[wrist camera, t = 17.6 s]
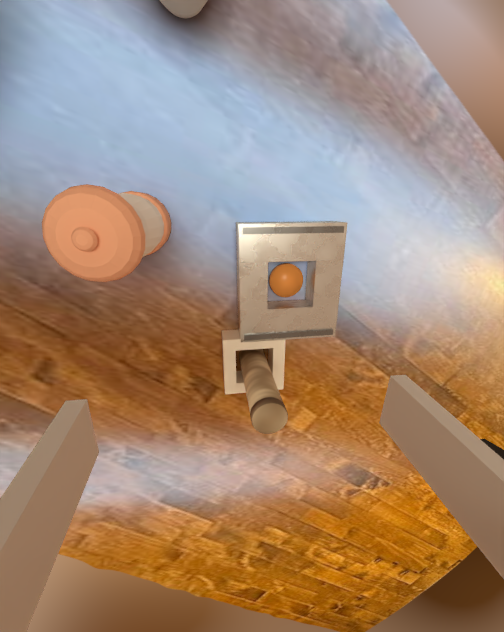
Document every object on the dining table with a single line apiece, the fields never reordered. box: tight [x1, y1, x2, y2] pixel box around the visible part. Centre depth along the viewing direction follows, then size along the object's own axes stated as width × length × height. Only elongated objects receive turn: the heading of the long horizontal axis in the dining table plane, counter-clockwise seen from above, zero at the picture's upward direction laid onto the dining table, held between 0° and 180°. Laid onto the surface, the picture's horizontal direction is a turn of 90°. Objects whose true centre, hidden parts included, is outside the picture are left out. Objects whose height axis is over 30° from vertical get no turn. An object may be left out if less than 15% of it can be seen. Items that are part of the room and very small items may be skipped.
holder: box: [222, 329, 285, 394], centre depth 44 cm, size 9×9×4 cm
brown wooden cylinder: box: [239, 349, 288, 434], centre depth 39 cm, size 4×4×15 cm
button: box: [269, 263, 303, 297], centre depth 42 cm, size 5×5×1 cm
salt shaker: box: [42, 184, 171, 282], centre depth 28 cm, size 7×7×19 cm
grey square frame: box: [236, 221, 347, 342], centre depth 41 cm, size 14×16×4 cm
